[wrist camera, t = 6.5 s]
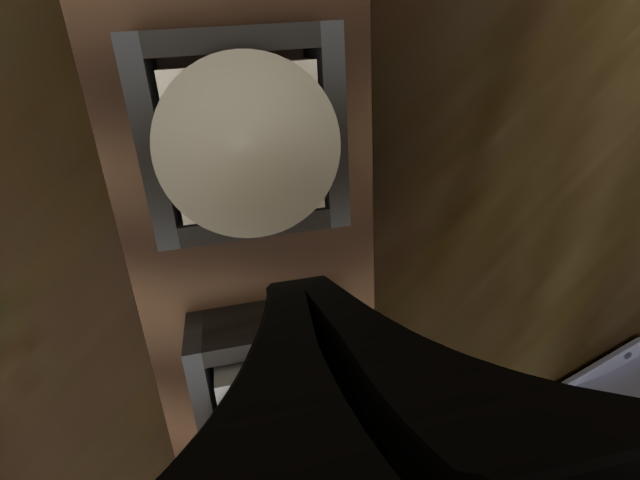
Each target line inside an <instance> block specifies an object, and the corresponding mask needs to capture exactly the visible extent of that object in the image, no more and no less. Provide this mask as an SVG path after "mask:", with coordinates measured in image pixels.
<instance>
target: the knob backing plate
mask: <svg viewBox="0 0 640 480" xmlns="http://www.w3.org/2000/svg"><path fill="white" fill-rule="evenodd" d="M60 4H61V8H62V12H63V16H64V20H65V24H66V28H67V32H68V36H69V40H70V44H71V48H72V52H73V56H74V60H75V64H76V68H77V72H78V75H79V79H80V83H81V87H82V91H83V95H84V99H85V103H86V107H87V111H88V115H89V119H90V123H91V127H92V131H93V135H94V139H95V143H96V147H97V151H98V154H99V158H100V162H101V166H102V170H103V174H104V178H105V182H106V186H107V190H108V194H109V198H110V202H111V206H112V210H113V214H114V218H115V222H116V226H117V230H118V234H119V237H120V241H121V245H122V249H123V253H124V257H125V261H126V265H127V269H128V273H129V277H130V281H131V285H132V289H133V293H134V297H135V301H136V305H137V309H138V313H139V317H140V320H141V324H142V328H143V332H144V336H145V340H146V344H147V348H148V352H149V356H150V360H151V364H152V368H153V372H154V376H155V380H156V384H157V388H158V392H159V396H160V400H161V403H162V407H163V411H164V415H165V419H166V423H167V427H168V431H169V435H170V439H171V443H172V447H173V451H174V455H175V458H176V457H177V456H178V455H179V453H180V452H181V451H182V450H183V449H184V448H185V446H186V445H187V444H188V443H189V442H190V441H191V439H192V438H193V437H194V436H195V435H196V434H197V432H198V431H199V430H200V429H201V427H202V426H203V425H204V424H205V422H206V421H207V420H208V418H209V417H210V416H211V414H212V413H213V411H214V410H215V408H216V407H217V402H216V396H215V391H214V367H216V366H222V365H227V364H233V363H238V362H244V361H245V359H246V357H247V354H248V352H249V350H250V347H251V345H252V343H253V341H254V338H255V336H256V333H257V331H258V328H259V325H260V322H261V319H262V315H263V312H264V308H265V303H266V297H267V293H266V288H267V287H268V286H269V284H270V283H275V282H282V281H289V280H296V279H302V278H309V277H316V276H323V275H324V276H326V277H327V278H329V279H330V280H332V281H333V282H334V283H336V284H337V285H339V286H340V287H341V288H343V289H344V290H346V291H347V292H349V293H350V294H351V295H353V296H354V297H356V298H357V299H359V300H360V301H362V302H363V303H365V304H366V305H368V306H369V307H371V308H372V309H374V235H373V159H372V83H371V7H370V0H60ZM230 49H256V50H263V51H267V52H271V53H274V54H277V55H279V56H282V57H284V58H286V59H287V58H305V59H317V75H318V84H319V85H320V86H321V88H322V89H323V91H324V92H325V93H326V95H327V97H328V99H329V100H330V102H331V104H332V106H333V109H334V112H335V114H336V117H337V121H338V125H339V129H340V139H341V153H340V160H339V166H338V169H337V173H336V176H335V179H334V181H333V183H332V186H331V188H330V190H329V191H328V193H327V195H326V196H325V207H323V208H316V209H315V210H314V211H313V212H312V213H311V214H310V215H309V216H307V217H306V218H305V219H304V220H302V221H301V222H299V223H298V224H296V225H294V226H293V227H291V228H289V229H287V230H284V231H282V232H279V233H276V234H273V235H269V236H264V237H258V238H236V237H230V236H225V235H221V234H218V233H214V232H212V231H210V230H207V229H205V228H203V227H201V226H199V225H198V224H190V225H183V220H182V215H181V212H180V211H179V210H178V209H177V208H176V207H175V206H174V204H173V203H172V202H171V201H170V199H169V198H168V197H167V195H166V194H165V192H164V190H163V189H162V187H161V185H160V183H159V181H158V179H157V176H156V174H155V171H154V167H153V164H152V159H151V152H150V131H151V124H152V119H153V116H154V112H155V109H156V107H157V105H158V102H159V100H160V99H159V94H158V89H157V83H156V78H155V73H154V70H157V69H161V68H164V67H170V66H184V65H191V64H192V63H194V62H196V61H197V60H199V59H201V58H203V57H205V56H208V55H210V54H213V53H216V52H220V51H223V50H230Z"/></svg>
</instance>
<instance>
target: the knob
mask: <svg viewBox="0 0 640 480" xmlns="http://www.w3.org/2000/svg"><path fill="white" fill-rule="evenodd" d="M154 73H155V78H156V83H157V89H158V94H159V99H160V100H159V102H158V105H157V107H156V109H155V112H154V116H153V119H152V124H151V131H150V152H151V159H152V164H153V167H154V171H155V174H156V176H157V179H158V181H159V183H160V185H161V187H162V189H163V190H164V192H165V194H166V195H167V197H168V198H169V199H170V201H171V202H172V203H173V204H174V206H175V207H176V208H177V209H178V210H179V211H180V212H181V215H182V220H183V225H190V224H198V225H199V226H201V227H203V228H205V229H207V230H210V231H212V232H214V233H218V234H221V235H225V236H230V237H236V238H258V237H264V236H269V235H273V234H276V233H279V232H282V231H284V230H287V229H289V228H291V227H293V226H294V225H296V224H298V223H299V222H301V221H302V220H304V219H305V218H306V217H307V216H309V215H310V214H311V213H312V212H313V211H314V210H315V209H316V208H323V207H325V196H326V195H327V193H328V191H329V190H330V188H331V186H332V183H333V181H334V179H335V176H336V173H337V169H338V166H339V160H340V153H341V139H340V129H339V125H338V121H337V117H336V114H335V112H334V109H333V106H332V104H331V102H330V100H329V99H328V97H327V95H326V93H325V92H324V91H323V89H322V88H321V86H320V85H319V84H318V75H317V59H305V58H287V59H286V58H284V57H282V56H279V55H277V54H274V53H271V52H267V51H263V50H256V49H230V50H223V51H220V52H216V53H213V54H210V55H208V56H205V57H203V58H201V59H199V60H197V61H196V62H194V63H192V64H191V65H184V66H170V67H164V68H161V69H157V70H154Z"/></svg>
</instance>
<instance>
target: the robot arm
mask: <svg viewBox="0 0 640 480" xmlns="http://www.w3.org/2000/svg"><path fill="white" fill-rule="evenodd" d="M266 293H267V297H266V303H265V308H264V312H263V315H262V319H261V322H260V325H259V328H258V331H257V333H256V336H255V338H254V341H253V343H252V345H251V347H250V350H249V352H248V354H247V357H246V359H245V361H244V363H243V365H242V366H241V368H240V370H239V372H238V374H237V376H236V377H235V379H234V381H233V382H232V384H231V386H230V388H229V389H228V391H227V392H226V394H225V395H224V397H223V398H222V400H221V401H220V403H219V404H218V406H217V407H216V408H215V410H214V411H213V413H212V414H211V416H210V417H209V418H208V420H207V421H206V422H205V424H204V425H203V426H202V427H201V429H200V430H199V431H198V432H197V434H196V435H195V436H194V437H193V438H192V439H191V441H190V442H189V443H188V444H187V445H186V446H185V448H184V449H183V450H182V451H181V452H180V453H179V455H178V456H177V457H176V458H175V459H174V460H173V462H172V463H171V464H170V465H169V466H168V467H167V468H166V469H165V470H164V471H163V472H162V474H161V475H160V476H159V477H157V478H156V479H155V480H640V337H638V338H635V339H634V340H632V341H630V342H629V343H627V344H625V345H623V346H622V347H620V348H618V349H617V350H615V351H613V352H612V353H610V354H608V355H606V356H605V357H603V358H601V359H600V360H598V361H596V362H595V363H593V364H591V365H589V366H588V367H586V368H584V369H583V370H581V371H579V372H578V373H576V374H574V375H573V376H571V377H569V378H567V379H566V380H564V381H562V382H561V383H560V382H556V381H552V380H548V379H544V378H540V377H536V376H532V375H528V374H525V373H521V372H518V371H515V370H511V369H508V368H504V367H501V366H498V365H495V364H492V363H489V362H486V361H483V360H480V359H477V358H474V357H471V356H469V355H466V354H463V353H461V352H458V351H455V350H453V349H450V348H448V347H446V346H444V345H441V344H439V343H437V342H434V341H432V340H430V339H428V338H425V337H423V336H421V335H419V334H417V333H415V332H413V331H411V330H409V329H407V328H405V327H404V326H402V325H400V324H398V323H396V322H394V321H393V320H391V319H389V318H387V317H386V316H384V315H382V314H381V313H379V312H377V311H376V310H374V309H372V308H371V307H369V306H368V305H366V304H365V303H363V302H362V301H360V300H359V299H357V298H356V297H354V296H353V295H351V294H350V293H349V292H347V291H346V290H344V289H343V288H341V287H340V286H339V285H337V284H336V283H334V282H333V281H332V280H330V279H329V278H327V277H326V276H324V275H323V276H316V277H309V278H302V279H296V280H289V281H282V282H275V283H270V284H269V286H268V287H267V288H266Z"/></svg>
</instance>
